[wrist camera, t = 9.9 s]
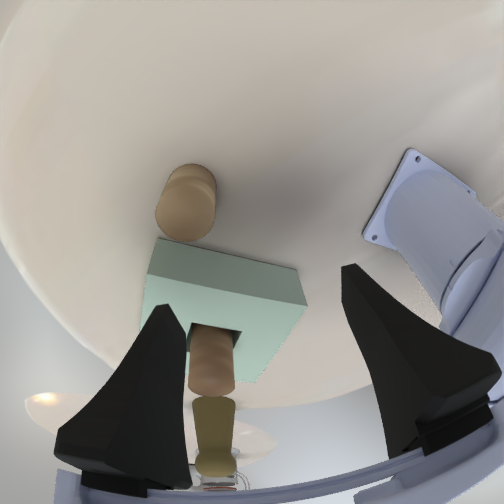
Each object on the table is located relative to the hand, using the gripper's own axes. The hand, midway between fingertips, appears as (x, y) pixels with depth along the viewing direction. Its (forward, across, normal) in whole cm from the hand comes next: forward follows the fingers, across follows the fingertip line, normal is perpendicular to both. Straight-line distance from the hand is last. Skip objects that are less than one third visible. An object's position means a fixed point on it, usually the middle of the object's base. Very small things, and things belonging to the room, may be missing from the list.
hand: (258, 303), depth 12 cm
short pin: (+9, +3, -2) cm, 10 cm away
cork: (+10, +11, +28) cm, 32 cm away
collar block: (+9, +5, +9) cm, 14 cm away
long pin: (+9, +5, +9) cm, 14 cm away
